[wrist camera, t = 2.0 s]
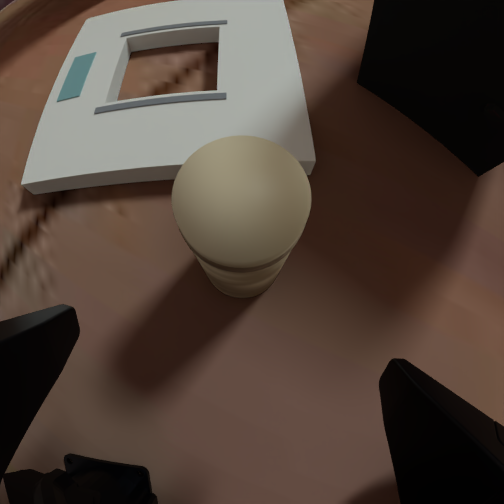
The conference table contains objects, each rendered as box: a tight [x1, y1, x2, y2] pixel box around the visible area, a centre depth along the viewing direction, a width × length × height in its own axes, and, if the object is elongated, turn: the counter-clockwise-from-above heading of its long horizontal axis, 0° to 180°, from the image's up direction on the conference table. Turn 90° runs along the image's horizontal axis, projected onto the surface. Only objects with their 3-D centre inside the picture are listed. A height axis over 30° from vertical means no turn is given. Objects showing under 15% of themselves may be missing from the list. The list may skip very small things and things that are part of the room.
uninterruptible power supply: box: [357, 0, 504, 177], centre depth 18 cm, size 16×34×20 cm, turn 142°
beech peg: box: [172, 135, 311, 298], centre depth 16 cm, size 5×5×10 cm
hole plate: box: [21, 0, 316, 195], centre depth 24 cm, size 22×22×2 cm
